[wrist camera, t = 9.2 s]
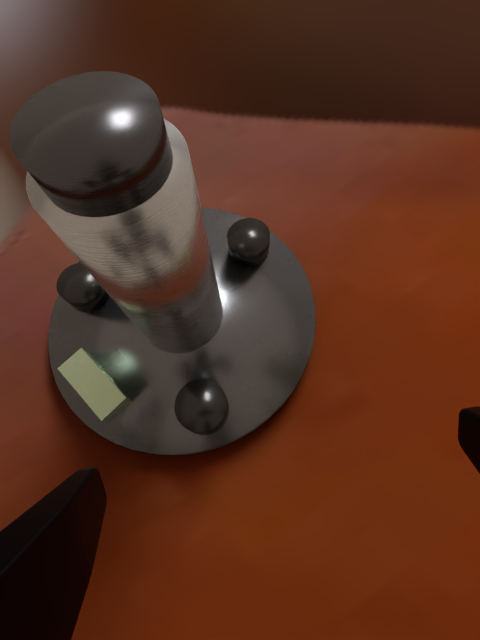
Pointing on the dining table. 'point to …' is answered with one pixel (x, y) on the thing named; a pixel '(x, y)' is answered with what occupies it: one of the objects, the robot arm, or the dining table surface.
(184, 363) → the plate
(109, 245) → the capped frosted bottle
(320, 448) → the dining table surface
